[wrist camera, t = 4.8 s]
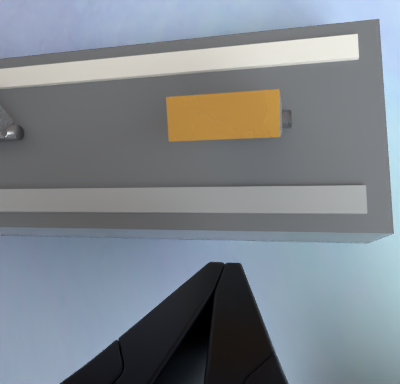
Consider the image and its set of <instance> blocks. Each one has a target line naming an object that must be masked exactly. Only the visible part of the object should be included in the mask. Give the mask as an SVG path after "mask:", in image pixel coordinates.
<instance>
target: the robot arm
mask: <svg viewBox="0 0 400 384" xmlns="http://www.w3.org/2000/svg"><path fill="white" fill-rule="evenodd" d="M118 340H119V341H118ZM118 340H115V341H114V342H113V343H112V344H111V345H109V346H108V347H107V348H106V349H105V350H103V351H102V352H101V353H100V354H98V355H97V356H96V357H95V358H93V359H92V360H91V361H90V362H88V363H87V364H86V365H85V366H83V367H82V368H81V369H79V370H78V371H76V372H75V373H74V374H72V375H71V376H70V377H68V378H67V379H65V380H64V381H63V382H61V383H60V384H289V383H288V381H287V379H286V376H285V374H284V372H283V369H282V367H281V364H280V362H279V359H278V357H277V355H276V353H275V350H274V347H273V345H272V342H271V340H270V337H269V335H268V332H267V329H266V327H265V324H264V322H263V319H262V316H261V314H260V311H259V309H258V306H257V303H256V301H255V298H254V296H253V293H252V291H251V288H250V285H249V283H248V280H247V278H246V275H245V272H244V270H243V267H242V265H241V264H240V263H226V264H224V263H222V262H210V263H208V264H207V265H205V266H204V267H203V268H202V269H201V270H199V271H198V272H197V273H196V274H195V275H193V276H192V277H191V278H190V279H189V280H188V281H186V282H185V283H184V284H183V285H182V286H180V287H179V288H178V289H177V290H176V291H174V292H173V293H172V294H171V295H170V296H168V297H167V298H166V299H165V300H164V301H163V302H161V303H160V304H159V305H158V306H157V307H155V308H154V309H153V310H152V311H151V312H149V313H148V314H147V315H146V316H145V317H143V318H142V319H141V320H140V321H139V322H138V323H136V324H135V325H134V326H133V327H132V328H130V329H129V330H128V331H127V332H126V333H124V334H123V335H122V336H121V337H120V338H119V339H118Z"/></svg>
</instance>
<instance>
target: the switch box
mask: <svg viewBox="0 0 400 384" xmlns="http://www.w3.org/2000/svg"><path fill="white" fill-rule="evenodd" d="M273 89H279V90H280V96H281V102H282V110H291V114H292V127H291V128H282V134H281V136H280V137H271V138H246V139H221V140H197V141H172V142H169V139H168V122H167V105H166V97H172V96H187V95H201V94H216V93H230V92H244V91H259V90H273ZM0 105H1V106H2V108H3V109H4V110H5V111H6V112H7V114H8V115H9V116H10V117H11V118H12V120H13V123H12V125H20V126H21V127H22V128H23V130H24V137H23V139H22V140H13V141H0V235H22V236H67V237H112V238H157V239H201V240H246V241H291V242H336V243H370V242H373V241H375V240H378V239H381V238H383V237H386V236H389V235H391V234H394V230H393V215H392V201H391V186H390V171H389V157H388V142H387V127H386V113H385V98H384V83H383V69H382V54H381V39H380V25H379V19H374V20H364V21H355V22H345V23H336V24H326V25H317V26H307V27H298V28H288V29H279V30H270V31H260V32H251V33H241V34H232V35H222V36H213V37H203V38H194V39H184V40H175V41H165V42H156V43H146V44H137V45H127V46H118V47H108V48H99V49H89V50H80V51H70V52H61V53H51V54H42V55H32V56H23V57H13V58H4V59H0Z"/></svg>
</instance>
